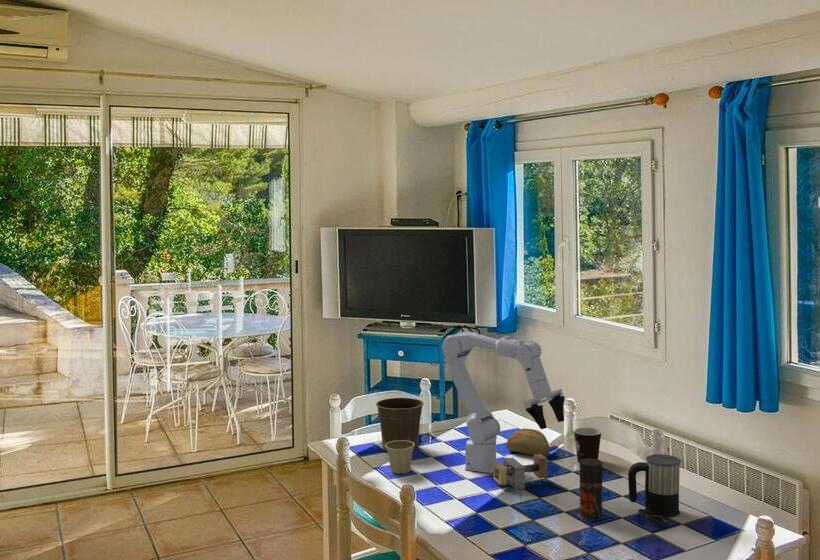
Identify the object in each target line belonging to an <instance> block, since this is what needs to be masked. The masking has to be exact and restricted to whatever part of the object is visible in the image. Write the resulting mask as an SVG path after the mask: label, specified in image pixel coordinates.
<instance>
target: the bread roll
mask: <svg viewBox="0 0 820 560" xmlns="http://www.w3.org/2000/svg"><path fill="white" fill-rule="evenodd" d="M505 445H506V448H507V450H509V451H511V452H516V453H522V454H525V455H531V456H534V455H535V454H542V455H543V456H545V457H546V456H548V455H549V454H550V444H549V441H548V440H547V437H546V436H545V435H544V433H543V432H541V431H540V430H537V429H534V428H522V429H520V430H519V429H518V430H517V431H515V432H514V433H513V434H511V435H510V436H509V437H508V438H507V442H506V444H505Z"/></svg>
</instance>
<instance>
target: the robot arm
mask: <svg viewBox="0 0 820 560" xmlns="http://www.w3.org/2000/svg"><path fill="white" fill-rule="evenodd" d="M475 347H477V348H481V349H487V350H491V351H492V350H493V351H496V353H497V355H499V356H502V357H506V358H510V359H514V360H516V361H517V362H518V363H519V364H520V365H521V367H522V369H523V371H524V374H525V377H526V381H527V383H528V387H529V389H530V392H531V394H532V398H530V399H528V400H525V401H524V402H523V404H524V405H523V406H524V408H525V411H526V412H527V413H528V414H529V415H530V416H531V418H533V420H534V421H535V422H536V424H537V426H538V427H539V429H540V430H545V429H547V428H548V427H547V422H546V419H545V415H544V406H543V404H541V403H544V402H547V403H548V404H549V405H550V407H551V410H552V411H553V413H554V416H555V418H556V420H557V422H558V423H561V422H564V421H565V413H564V405H565V398H566V397H565V395H564V393H563V390H562V388H559V389H556V390H553V391H552V389H551V387H550V383H549V381H548V378H547V375H546V371H545V368H544V366H543V363H542V360H541V354H542V348H541V346H540V345H539V344H538V343H537V342H536V341H533V340H529V341H526V342H525V341H524V339H519V340H517V339H513V338H511V336H509V335H505V336H502V337H500V338H499V339H496V338H494V337H489V336H486V335H483V334H480V333H476V332H474V331H473V332H472V331H468V330H467V331H466V330H465V331H462V332H459V333H455V334H450V335H447V336H446V337H445V338H444V340H443V343H442V345H441V348H442V352H443V353H444V358H445V359H444V360H445V365H446V369H447V370H448V373H449V375H450V376H451V377H450V378H451V379H452V381H453V383H454V386H455V389H456V391H457V393H458V394H459V398H460V399H461V402H462V403H463V406H464V408H465V410H466V412H467V414H468V418H467V420H466V426H467V430H468V436H469V439H468V440H467V441H466V442H465V443H466V444H465V448H464V449H465V450H464V451H465V453H464V456H465V458H464V459H465V461H464V462H465V464H464V465H465V467H464V470H466V471H472V472H479V473H480V472H481V473H489V474H493V463H496V462H497V438H498V436H499V434H500V432H501V424H500V423H499V422H500V421H498V419H496V418H495V416H494V415H493V413H492V412H491V411H490V410H488V409H486V408H485V407H484V403H483V402H482V399H481V398H480V396H479V393H478V391H477V389H476V386H475V385H474V382H473V380H472V378H471V375H470V373H469V371H468V369H467V368H466V364H465V362H466V360H467V357H468V356H469V355H470V353H471V352H472V350H473V349H474V348H475Z"/></svg>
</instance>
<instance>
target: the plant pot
mask: <svg viewBox="0 0 820 560" xmlns="http://www.w3.org/2000/svg"><path fill="white" fill-rule="evenodd" d="M375 406H376V407H377V415H378V417H379V423H380V433H381V434H380V435H381V443H382V444H381V445H382V450H383V449H384V450H383V451H384V452H386V451H387V449H386V447H385V444H386V443H388V442H391V441H398V440H405V441H411V442H413V443H414V444H415V446H414V448H413V452H415V450H416V449H419V440H420V439H419V438H420V425H421V416H422V410H423V406H424V401H423V400H421V399H417V398H411V397H390V398H384V399H380V400H378V401H377V402H376V403H375ZM416 451H417V450H416Z"/></svg>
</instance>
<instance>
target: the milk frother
mask: <svg viewBox="0 0 820 560" xmlns="http://www.w3.org/2000/svg"><path fill="white" fill-rule="evenodd" d="M645 459H646V461H644V462H643V461H642V462H641V461H639V462H638V461H637V462H635V463H633V464H632V465H630V467H629V469H628V473H627V479H628V481H627V483H628V484H627V485H628V497H629V501H630V502H631V503H636V502H637V500H638V499H637V497H638V496H637V495H638V492H637V490H638V489H637V474H638V473H639V472H645V477H644V478H645V479H644V505H645V508H643V509H642V508H639V509H638V511H637V512H638V514H639V515H641V516H642V517H643V518H645V519H646V520H648V521H649V522H651V523H653V524H655V525H657V526H658V527H660V526H667V525H668V524H669V523H668V520H667V519H666V518H673V517H677V516H679V515H680V513H681V511H680V499H679V498H680V467H681V463H682V462H683V461H682V459H681V458H679V457H677V456H674V455H672V454H671V455H669V454H658V453H657V454H650V455H647V456H646V458H645Z"/></svg>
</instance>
